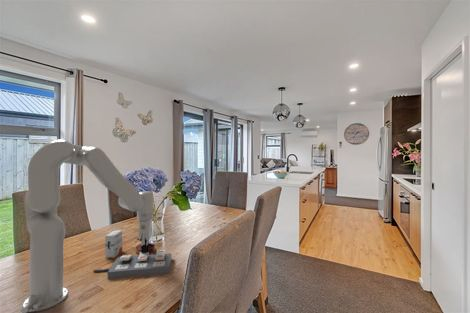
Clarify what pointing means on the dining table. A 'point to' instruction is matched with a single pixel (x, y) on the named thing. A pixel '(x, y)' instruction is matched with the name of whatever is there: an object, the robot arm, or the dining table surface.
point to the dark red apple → (151, 248)
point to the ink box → (113, 244)
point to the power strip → (138, 267)
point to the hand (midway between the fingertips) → (145, 252)
